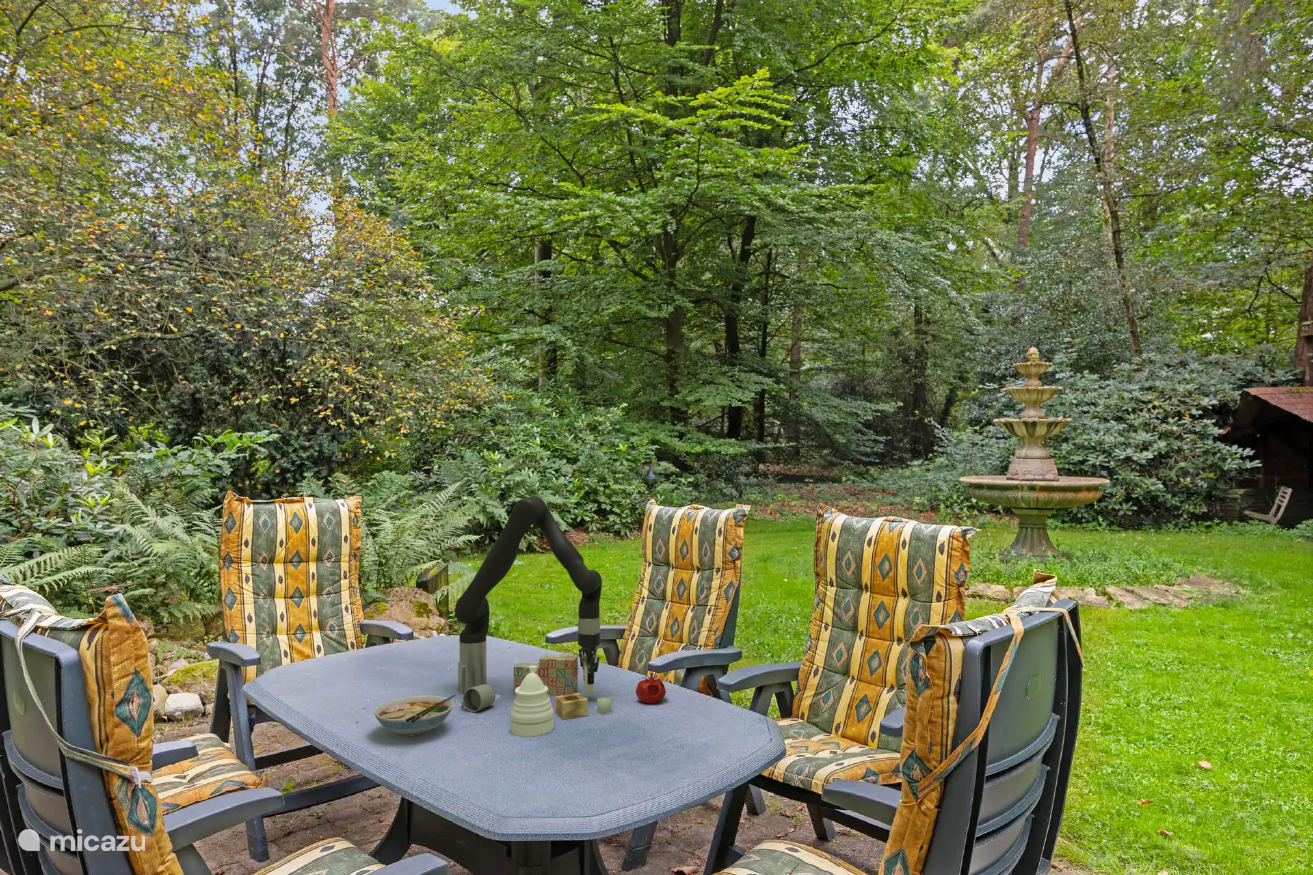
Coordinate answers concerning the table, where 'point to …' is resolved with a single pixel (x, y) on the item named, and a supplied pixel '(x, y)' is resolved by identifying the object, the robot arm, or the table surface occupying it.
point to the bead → (604, 705)
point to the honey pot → (531, 707)
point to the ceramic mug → (478, 697)
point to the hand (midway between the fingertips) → (588, 682)
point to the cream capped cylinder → (587, 688)
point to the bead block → (571, 706)
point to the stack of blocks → (552, 673)
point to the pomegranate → (650, 690)
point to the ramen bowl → (414, 713)
